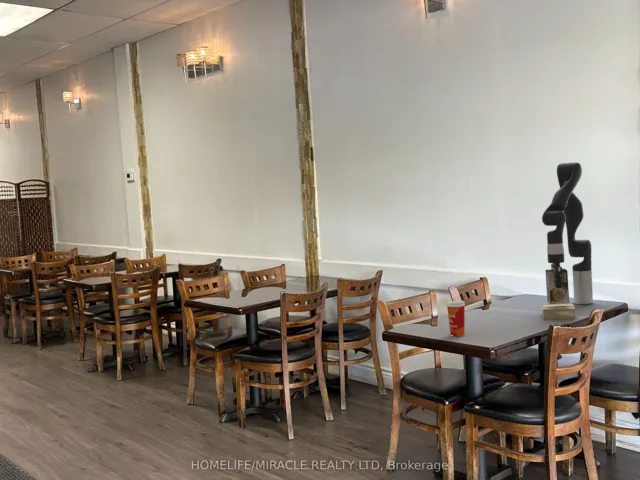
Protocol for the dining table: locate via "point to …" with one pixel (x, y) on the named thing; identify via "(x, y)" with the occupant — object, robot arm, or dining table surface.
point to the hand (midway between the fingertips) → (557, 286)
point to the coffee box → (555, 293)
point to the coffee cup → (456, 317)
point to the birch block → (558, 311)
